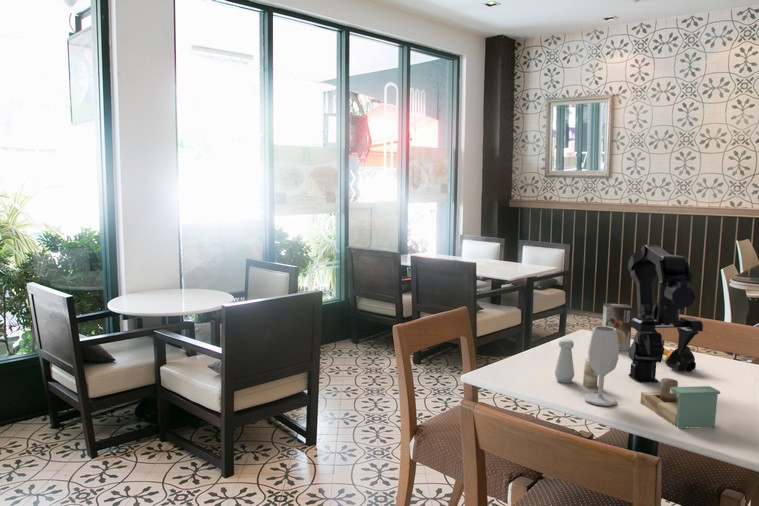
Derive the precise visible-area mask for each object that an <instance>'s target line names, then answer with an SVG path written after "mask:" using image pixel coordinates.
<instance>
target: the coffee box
mask: <svg viewBox="0 0 759 506" xmlns="http://www.w3.org/2000/svg"><path fill="white" fill-rule="evenodd" d="M602 309H603V310H602V325H601V326H609V327H613V328H615V329H616V332H617V336H618V344H619V351H629V349H630V347H631V339H632V338H631V336H632V327H631V321H632V320H633V307H632V306H631V305H630V304H623V303H621V304H620V303H605V302H604V303H603V308H602Z"/></svg>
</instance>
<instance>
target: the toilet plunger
mask: <svg viewBox="0 0 759 506" xmlns="http://www.w3.org/2000/svg"><path fill="white" fill-rule="evenodd" d="M663 356H666V357H665V365H666V366H667V367H669V368H670V369H674V370H676V371H679V372H687V373H691V372H693V371H694V370H695V369H696V366H697V362H696V358H695V356H694V353H693V352H692V350H691V348H690V347H689V346H688V345H687V346H686V348H685V349H684V351H683V352H682V354H678V347H677V348H676V349H672V348H669V349H666V348H665V347H664V353H663Z"/></svg>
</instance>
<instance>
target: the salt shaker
mask: <svg viewBox="0 0 759 506" xmlns="http://www.w3.org/2000/svg"><path fill="white" fill-rule="evenodd" d="M558 346H559V348H560V351H559V355H558V358H557V360H556V361H557V362H556V365H555V369H554V375H555V379H556V381H558V382H560V383H562V384H569V383H571V382H572V381H573V379H574V377H575V366H574V361H573V360H574V359H573V352H572V351H573V350H572V349H574V348H575V347H574V346H575V344H574V341H573V340H572V339H569V338H561V339H560V340H559V341H558Z"/></svg>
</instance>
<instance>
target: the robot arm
mask: <svg viewBox="0 0 759 506" xmlns="http://www.w3.org/2000/svg"><path fill="white" fill-rule="evenodd" d="M627 264H628V265H627V269H628V271H629V272H630V273H629V275H630V278H631V279H632V281H633V282H634V283H635V285H636V298H637V299H636V301H637V303H636V304H637V317H633V318H632V321H631V329H634V330H635V331H636V333H635V334H634V336H633V342H632V343H631V344H630V349H629V350H628V358H629V359H630V360H631V363H630V369H629V370H630V373H628V376H629V377H630V378H632V379H633V380H635V381H636V382H639V383H653V382H654V383H657V382H659V380H658V379H657V378H656V374H657V363H662V360H663V357H664V355H663V353H664V348H665V347H664V344H663V339H662V337H663V336H662V334H661V333H660V332H658V331H657V330H656V329H660V328H663V329H665V328H667V329H671V328H673V329H674V328H675V329H676V330H677V333H678V343H677V348H678V354H682V352H683V351H684V349H685V348H686V346H688V345H689V343H690V342H691V341H692V340H693V339H694V338H695V336H697V335H699V332H703V331H704V324H703V321H702V320H699V319H696V318H694V317H691V316H690V317H688V316H687V317H686V316H685V317H680V310H683V309H685V308H688V307H690V306H692V304H693V303H694V302H695V297H696V296H695V292H694V291H693V289H692V288H690V287H689V284H691V283H692V281H693V280H692V279H693V273H692V271H691V267H690V264H689V261H688V260H687V258H686V256H683V255H676V254H671V253H669V252H668V251H666V250H665V249H663V248H662V247H661V246H660V245H658V244H643V245H641V248H640V249H639V250H637V251H635V252H633V253H632V254H631V256H630V258H629V259H628V262H627ZM657 276H658V281H659V284H658V293H657V301H654V295H653V294H654V291H653V282H654V280H655V279H656V277H657Z"/></svg>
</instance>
